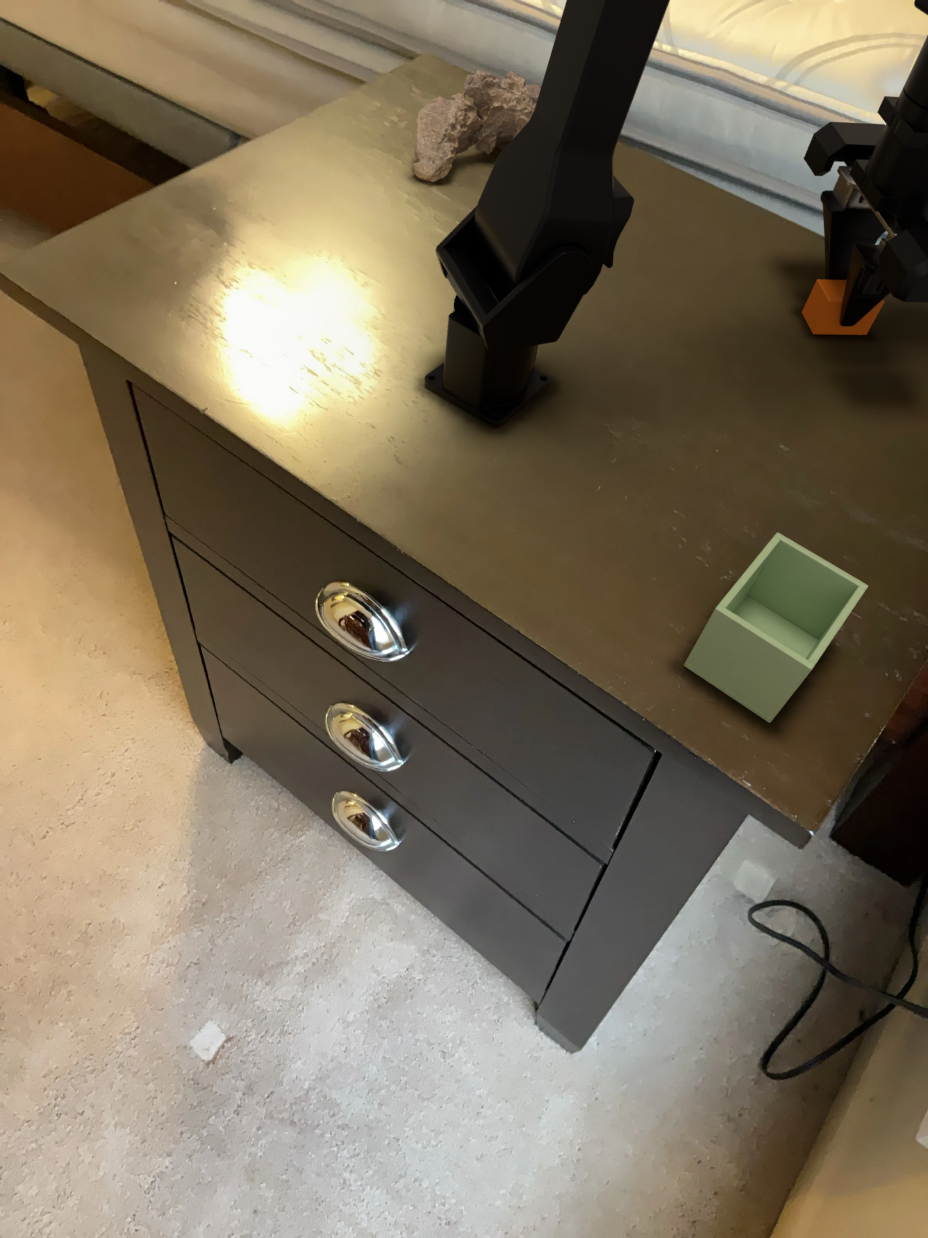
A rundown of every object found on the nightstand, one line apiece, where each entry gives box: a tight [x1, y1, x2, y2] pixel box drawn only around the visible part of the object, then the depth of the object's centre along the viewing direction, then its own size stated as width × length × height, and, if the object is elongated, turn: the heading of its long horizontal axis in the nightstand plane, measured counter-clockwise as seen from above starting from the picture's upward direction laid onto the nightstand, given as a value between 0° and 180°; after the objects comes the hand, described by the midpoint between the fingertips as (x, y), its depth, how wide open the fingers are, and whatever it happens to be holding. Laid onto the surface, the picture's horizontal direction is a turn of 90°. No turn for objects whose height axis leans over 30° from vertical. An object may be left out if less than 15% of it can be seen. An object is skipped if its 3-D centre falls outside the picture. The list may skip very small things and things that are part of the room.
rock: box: [412, 69, 541, 183], centre depth 75 cm, size 6×14×7 cm, turn 113°
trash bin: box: [683, 532, 869, 724], centre depth 46 cm, size 7×5×5 cm
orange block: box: [801, 278, 885, 336], centre depth 67 cm, size 4×3×3 cm, turn 96°
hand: (839, 312), depth 67 cm, fingers closed on orange block, 3 cm apart
